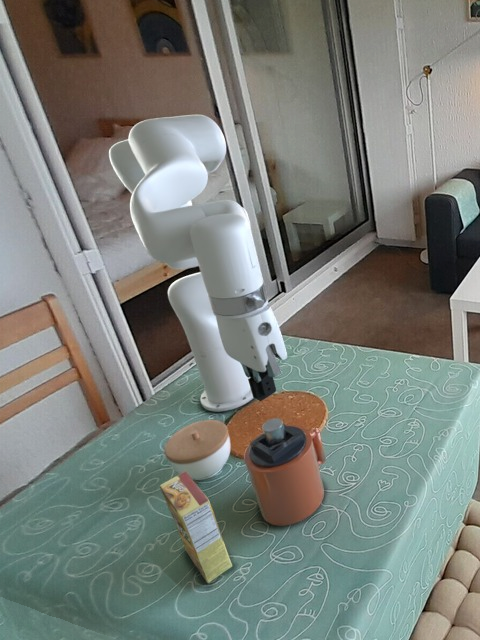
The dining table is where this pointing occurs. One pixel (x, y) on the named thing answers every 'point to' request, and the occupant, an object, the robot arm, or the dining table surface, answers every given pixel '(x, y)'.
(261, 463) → the jug
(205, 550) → the candy box
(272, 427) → the jug button
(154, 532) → the dining table surface
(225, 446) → the trinket box
